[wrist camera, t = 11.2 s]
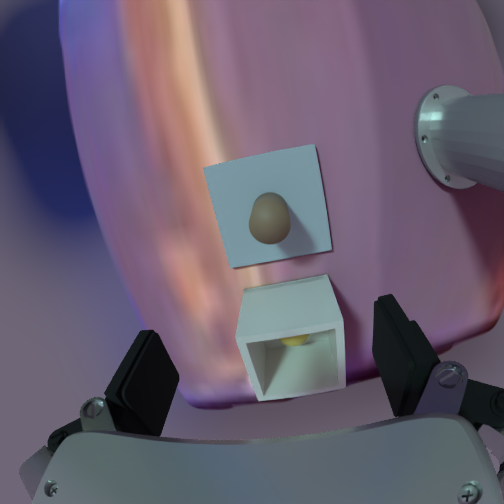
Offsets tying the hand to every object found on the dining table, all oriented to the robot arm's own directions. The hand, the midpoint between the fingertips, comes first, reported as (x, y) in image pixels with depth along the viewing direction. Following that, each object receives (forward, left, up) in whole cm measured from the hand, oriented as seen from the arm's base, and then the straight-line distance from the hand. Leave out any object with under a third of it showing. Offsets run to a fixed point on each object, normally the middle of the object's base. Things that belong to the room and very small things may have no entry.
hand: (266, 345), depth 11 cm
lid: (0, -1, -21) cm, 21 cm away
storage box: (0, +13, -20) cm, 24 cm away
